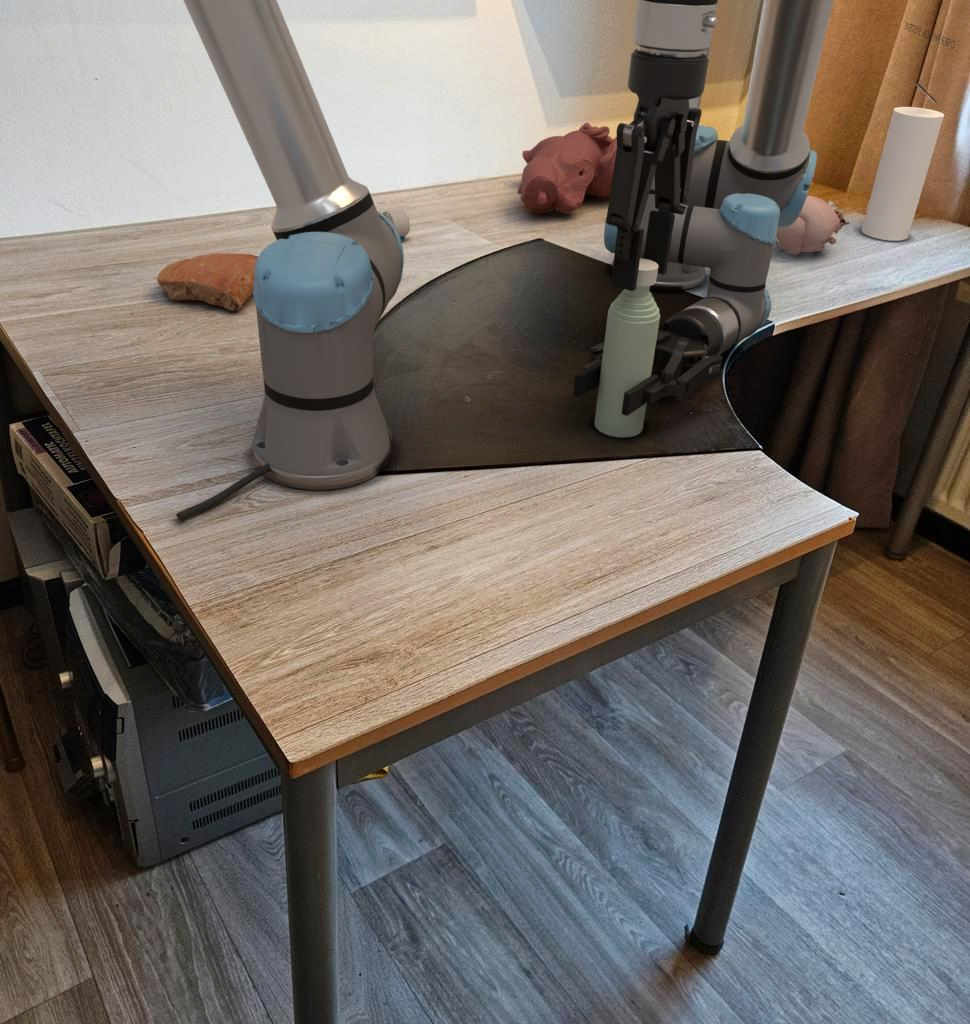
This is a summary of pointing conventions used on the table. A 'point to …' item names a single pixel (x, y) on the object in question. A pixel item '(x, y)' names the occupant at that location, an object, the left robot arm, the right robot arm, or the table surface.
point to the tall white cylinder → (902, 168)
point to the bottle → (626, 360)
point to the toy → (812, 227)
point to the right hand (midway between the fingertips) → (601, 395)
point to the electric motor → (399, 221)
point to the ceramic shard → (211, 279)
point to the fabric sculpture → (568, 169)
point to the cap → (647, 273)
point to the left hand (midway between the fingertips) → (638, 278)
